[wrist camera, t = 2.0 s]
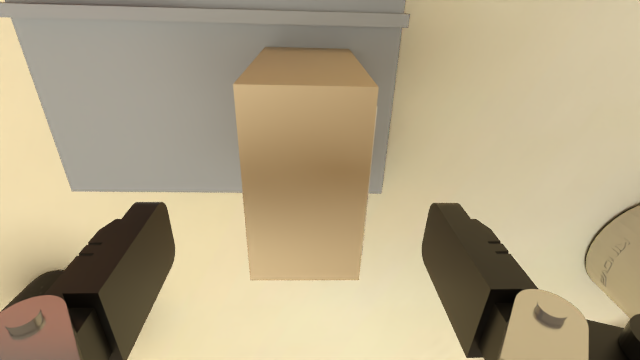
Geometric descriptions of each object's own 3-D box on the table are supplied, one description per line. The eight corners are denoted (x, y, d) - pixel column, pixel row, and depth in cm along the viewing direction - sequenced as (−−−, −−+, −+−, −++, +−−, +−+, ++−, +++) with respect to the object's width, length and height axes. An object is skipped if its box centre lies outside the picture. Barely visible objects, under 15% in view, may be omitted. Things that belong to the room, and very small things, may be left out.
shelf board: (417, -162, 16) (443, -200, 13) (377, 182, 24) (387, 209, 21) (-34, -183, 15) (-120, -228, 12) (85, 180, 24) (51, 208, 21)
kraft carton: (351, 48, 19) (383, 87, 11) (343, 179, 23) (362, 279, 15) (265, 46, 19) (232, 84, 11) (271, 179, 22) (250, 280, 14)
